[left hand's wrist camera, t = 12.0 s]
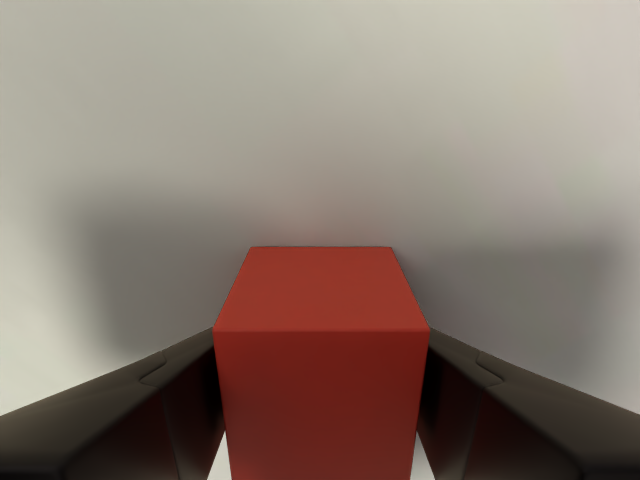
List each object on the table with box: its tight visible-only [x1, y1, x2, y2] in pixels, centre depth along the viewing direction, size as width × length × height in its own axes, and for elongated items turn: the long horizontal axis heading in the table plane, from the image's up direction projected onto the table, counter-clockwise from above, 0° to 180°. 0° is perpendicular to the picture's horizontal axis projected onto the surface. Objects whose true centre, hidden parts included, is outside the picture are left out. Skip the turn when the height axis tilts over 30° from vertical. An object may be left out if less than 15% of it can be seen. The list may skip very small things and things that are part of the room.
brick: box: [212, 247, 430, 480], centre depth 11 cm, size 5×5×4 cm
